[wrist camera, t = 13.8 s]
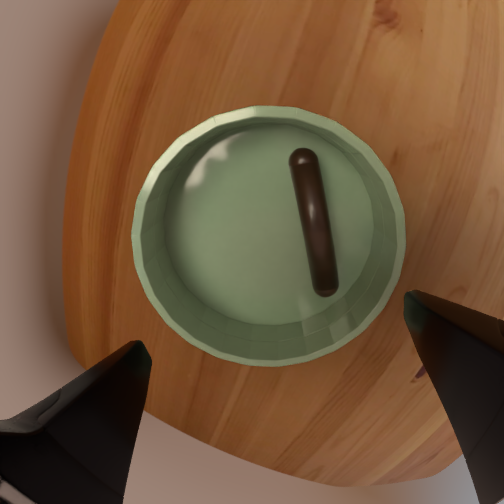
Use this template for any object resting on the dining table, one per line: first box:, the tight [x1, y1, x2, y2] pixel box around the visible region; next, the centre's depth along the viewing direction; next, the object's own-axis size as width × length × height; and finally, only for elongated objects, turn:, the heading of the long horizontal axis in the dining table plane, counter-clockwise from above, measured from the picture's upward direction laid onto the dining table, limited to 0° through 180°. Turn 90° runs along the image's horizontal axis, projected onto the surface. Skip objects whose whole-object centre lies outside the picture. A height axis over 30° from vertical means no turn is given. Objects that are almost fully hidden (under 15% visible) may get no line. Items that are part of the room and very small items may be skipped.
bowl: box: [131, 105, 406, 367], centre depth 17 cm, size 15×15×4 cm
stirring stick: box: [288, 147, 339, 297], centre depth 17 cm, size 10×2×2 cm, turn 14°
